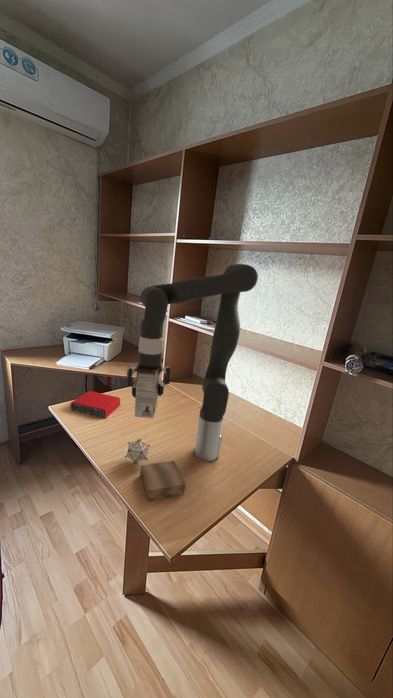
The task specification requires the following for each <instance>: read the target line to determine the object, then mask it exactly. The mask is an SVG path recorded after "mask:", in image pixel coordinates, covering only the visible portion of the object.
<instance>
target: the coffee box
mask: <svg viewBox="0 0 393 698" xmlns="http://www.w3.org/2000/svg"><path fill="white" fill-rule="evenodd" d="M160 374H161V373H160ZM160 374H159V369H138V371H136V376H137V378H136V377H135V378H136V398H134V399H135V401H134V402H135V404H134V405H135V406H134V417H137V418H146V419H154V416H155V414H156V411H157V408H158V404H159V403H158V402H159V395H158V386H159V382H158V376H159V377H160V376H161V375H160ZM160 378H161V377H160Z"/></svg>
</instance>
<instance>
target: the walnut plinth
mask: <svg viewBox="0 0 393 698" xmlns="http://www.w3.org/2000/svg"><path fill="white" fill-rule="evenodd" d="M139 476H140V479H141V483H142V486H143V489H144V492H145V496H146V499H147V502H150V501H156V500H161V499H167V498H172V497H173V498H174V497H176V496H183V495H185V492H186V482H185V480H184V478H183V476H182V474H181V472H180V469H179V468H178V466H177V463H176V461H175V460H169V461H162V462H156V463H154V462H153V463H149V464H142V465H141V464H140V475H139Z"/></svg>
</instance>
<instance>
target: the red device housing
mask: <svg viewBox="0 0 393 698" xmlns="http://www.w3.org/2000/svg"><path fill="white" fill-rule="evenodd" d="M120 406H121V398H120V397H118V396H114V395H110V394H104V393H101V392H96V391H92V390H88V391H87V392H85V393H84V394H82V395H80V396H79V397H77V398H76V399H74V400H73V401H71V402H70V411H76V412H79V413H82V414H83V413H84V414H87V415H92V416H95V417H99V418H103V419H104V420H106V419H107V418H108V417H109V416H111V414H113V413H114V411H116V410H117V409H118V408H119V407H120Z"/></svg>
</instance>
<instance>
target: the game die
mask: <svg viewBox="0 0 393 698" xmlns="http://www.w3.org/2000/svg"><path fill="white" fill-rule="evenodd" d="M127 444H128V447H127V452H126V455H125V456H124V458H127V457H128V458H129V459H130V460H131V461H133V464H136V463H138V462H139V461H143V460H145V461H148V458H147V455H148V450H149V447H150V446H151V445H150V444H147V443H145V442H143V441H142V438H138V439H137V440H136V441H133V442H130V441H127Z"/></svg>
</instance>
